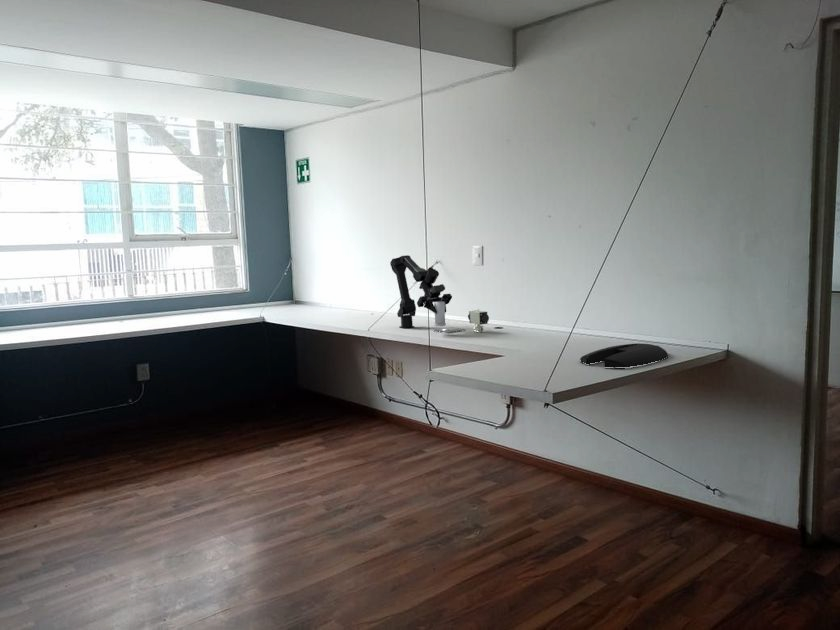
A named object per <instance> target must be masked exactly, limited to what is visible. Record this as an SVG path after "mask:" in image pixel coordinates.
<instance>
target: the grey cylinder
mask: <svg viewBox="0 0 840 630" xmlns="http://www.w3.org/2000/svg"><path fill="white" fill-rule="evenodd" d="M433 305H434V307H435V308H436V311H437V314H435V313H434V326H435V327H444V326H447V324H446V323H447V322H446V313H445V302H443V301H438V302H433Z"/></svg>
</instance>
